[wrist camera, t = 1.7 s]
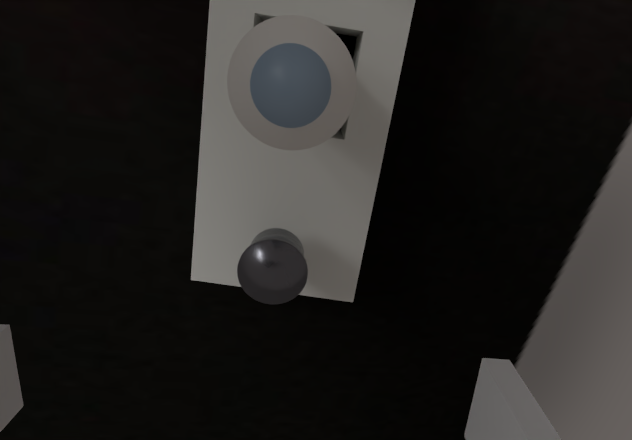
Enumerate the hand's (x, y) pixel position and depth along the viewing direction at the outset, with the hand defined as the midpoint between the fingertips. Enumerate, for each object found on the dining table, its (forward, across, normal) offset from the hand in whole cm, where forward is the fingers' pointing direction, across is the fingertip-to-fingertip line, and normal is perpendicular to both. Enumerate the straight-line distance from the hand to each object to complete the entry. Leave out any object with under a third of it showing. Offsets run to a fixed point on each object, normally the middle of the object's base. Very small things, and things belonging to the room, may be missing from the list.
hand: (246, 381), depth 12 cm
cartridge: (+23, 0, +8) cm, 25 cm away
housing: (+23, 0, +8) cm, 25 cm away
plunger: (+16, 0, -3) cm, 17 cm away
